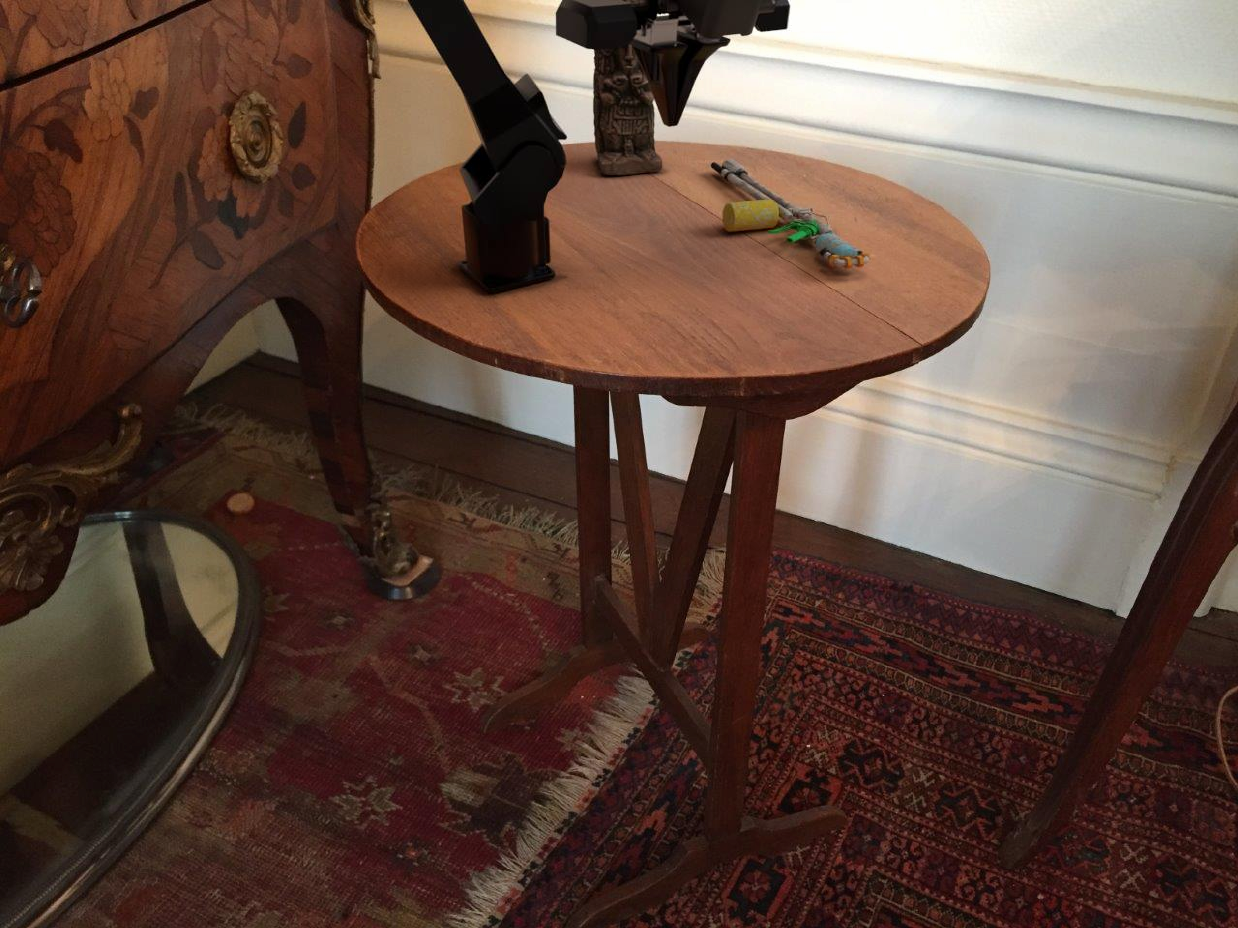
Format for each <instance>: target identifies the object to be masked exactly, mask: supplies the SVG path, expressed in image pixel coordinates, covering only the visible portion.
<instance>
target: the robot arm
mask: <svg viewBox="0 0 1238 928" xmlns="http://www.w3.org/2000/svg"><path fill="white" fill-rule="evenodd" d="M406 1H407V2H408V4H409V5H410V7H411V9H412V11H413V13H414V14H415V16H416V17H417V19H418V21H419V23H420V24H421V26H422V27H423V29H424V31H425V32H426V34H427V35H428V37H429V39H430V40H431V42H432V45H433V46H434V48H435V49H436V51H437V52H438V54H439V56H440V58H441V59H442V60H443V62H444V64H445V65H446V67H447V69H448V71H449V72H450V74H451V76H452V77H453V79H454V80H455V83H456V84H457V86H458V87H459V89H460V91H461V93H462V95H463V98H464V101H465V103H466V106H467V109H468V112H469V115H470V117H471V120H472V122H473V125H474V128H475V130H476V133H477V135H478V138H479V141H480V144H479V145H478V146H477V147H476V149H475V150H474V151H473V152H472V153H471V155H470V156H469V157H468V158H467V159H466V160H465V162H464V163H462V165H461V166H460V168H459V173H460V175H461V178H462V180H463V183H464V185H465V187H466V190H467V192H468V195H469V197H470V200H471V201H470V202H469V203H466V204H462V205H461V216H462V229H463V237H464V250H465V259H464V260H461V261H459V264H458V265H459V269H460V270H462V272H463V273H465V275H467V276H468V277H469V278H470V279H471V280H473V281H474V282H475V283H476V284H477V285H479V286H480V287H481V288H482V289H483V290H484V291H485V292H486V293H489V294H495V293H499V292H503V291H507V290H511V289H515V288H520V287H523V286H527V285H532V284H535V283H539V282H544V281H547V280H551V279H554V278H555V277H556V270H555V269H554V268H552V267H551V266H549V265H548V264H550V263H551V261H552V256H551V255H552V254H551V251H552V250H551V231H550V229H551V227H550V219H549V218H548V217H547V216H545V204H546V200H547V198H548V195H549V194H548V193H549V192H551V191H552V190H553V189H554V188H555V187H556V186H557V185H558V184H559V182H560V181H561V179H562V178H563V175H564V171H565V167H566V165H567V156H566V153H565V150H564V147H563V144H562V143H561V141H566V140H567V139H568V136H567V134H566V133H565V131H564V130H563V129H562V127H561V126H560V125H559V123H558V121H556V119H555V118H554V117H553V115H552V114H551V112H550V109H549V107H548V103H547V101H546V98H545V95H544V93H543V92H542V90H541V89H540V88H539V86H538V85H537V84H536V82H535V81H534V80H533V78H532V77H531V76H530V75H529V73H525V74H523V76H521V77H520V78H519V79H518V80H517V81H516V82H514V81H513V79H512V78H511V77H510V75H508V74H507V72H505V70H504V69H503V68H502V66H501V64H500V62H499V61H498V58H497V57H496V55H495V53H494V52H493V49H492V47H491V46H490V44H489V42H488V40H487V39H486V37H485V36H484V33H483V32H482V30H481V28H480V26H479V25H478V23H477V21H476V19H475V18H474V16H473V14H472V12H471V11H470V8H469V7H468V5H467V3H466V1H465V0H406ZM790 13H791V4H790V1H789V0H640V3H638V4H631V3H628V2H625V1H622V0H561V1H560V3H559V5H558V7H557V9H556V11H555V36H557V37H560V38H562V39H564V40H566V41H568V42H570V43H573V44H574V45H578V46H579V47H582V48H584V49H587V50H593V51H594V50H600V49H609V48H619V47H627V46H628V45H631V46H632V48H633V50H634V52H635V54H636V56H637V58H638V60H639V63H640V65H641V67H642V69H643V71H644V73H645V76H646V78H647V81H648V83H649V86H650V89H651V92H652V94H653V97H654V100H653V101H654V102H655V103H654V104H655V105H656V108H657V111H658V114H659V116H660V118H661V121H662V124H663V125H664V126H666V127H669V128H671V127H677V126H678V125H679V122H680V120H681V118H682V116H683V113H684V111H685V108H686V106H687V103H688V102H689V98H690V96H691V93H692V91H693V88H694V86H695V83H696V81H697V79H698V76H699V75H700V73H701V71H702V69H703V67H704V65H705V63H706V61H707V60H708V59H709V58H710V57H712V55H713V54H715V53H716V52H717V51H718V50H720V48H723V47H724V48H725V47H728V45H729V44H730V43H731V41H732V40H731V38H730V37H726V36H733V35H735V36H736V35H740V36H741V37H747V36H750V35H752V34H753V31H754V28H755V30H756V31H757V32H760V33H765V32H766V33H767V32H774V31H784V30H785V31H786V30H788V28H789V22H790V15H791V14H790Z"/></svg>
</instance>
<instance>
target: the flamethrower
mask: <svg viewBox="0 0 1238 928" xmlns="http://www.w3.org/2000/svg"><path fill="white" fill-rule="evenodd" d="M710 168H711V169H713V170H714V171H715V172H717V173H718V174H719V175H721V176H722V177H723V179H724V180H725V181H727V182H730V183H732V184H733V185H735V186H736V187H737V188H738V189H740V190H741V191H743V192H744V193H746V194H747V195H749V196H750V197H751V198H753V199H755V200H746V201H733V202H732V201H731V202H726V203H725V204H724V206H723V209H722V212H721V215H722V225H723V227H724V229H725V231H727V232H728V233H729V232H739V231H751V230H753V231H754V230H762V229H769V230H768V232H767V233H768V234H771V235H772V234H780V233H782V232H785V231H787V230H792V231H796V232H795V233H793V234H791V235H789V236H787V237H786V238H785V242H787V243H789V244H793V243H795V242H797V241H799V240H801V239H803V238H804V239H808V241H809V242H810V244H811V245H812V246H814V247H816V249H817V251H818V252H819V255H820V256H821V257H822V258H824V259H826V261H828V263H829V265H830V267H841V268H844V269H845V270H850V269H851V268H852V267H853V266H855V267H856V268H858V269H859V268H863V267H864V265H865V264H867V263H869V261H870V255H869V252H863V251H862V250H859V249H858V248H857V247H856V246H854V245H852V244H851V243H850V242H848V241H846V240H844V239H842V238H841V237H839V236H838V235H837V234H835V232H834V229H832V228H831V226H830V222H829V218H828V216H827V215H826V214H820V213H817V212H815V211H814V207H813V205H809V206H808V207H803V206H797V205H796V204H794V203H791V202H788V201H787V200H785V199H784V198H782V197H781V196H779V195H778V194H777V193H775V192H773V191H772V190H771V189H769V188H768V187H766V186H764V185H763V184H761V183H760V182H758V181H757V180H756V179H754V178H752V177H751V176H749V173H748V172H747V171H746V169H745V167H744V165H742V164H741V163H739V162H737V161H736V160H734V159H733V158H727V159H725V160H724V161H723V162H722V164H721V165H720V164H718V163H717V162H715V161H713V162H711V163H710ZM816 216H817V217H819V218H824V219H825V221H826V223H824V222H822V221H821V220H820V219H818V218H816ZM779 218H780V219H782V220H783V221H785V222H787V223H788V222H790V223H788V224H785V225H783V226H781V227H779V228H776V229H772V228H775V227H776V225H777V224H778V222H779ZM815 238H816V239H815ZM812 239H815V241H813V240H812Z"/></svg>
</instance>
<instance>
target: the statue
mask: <svg viewBox="0 0 1238 928" xmlns="http://www.w3.org/2000/svg"><path fill="white" fill-rule="evenodd" d="M622 1H625V2H628V3H631V4H638V3H640V0H622ZM593 53H594V56H593V64H594V69H593V76H592V77H593V78H592V79H593V80H592V87H593V91H592V94H593V98H592V113H593V121H592V122H593V136H594V149H595V152H596V155H597V159H598V166H599V169H600V172H601V174H603V175H606V176H608V175H609V176H610V175H611V176H625V175H634V174H644V173H656V172H661V171H662V168H663V160H662V159H663V158H662V157H661V156H660V154H658V153H657V152H656V146H655V142H656V140H655V119H656V114H655V113H656V112H655V105H654V101H655V100H654V97H653V94H652V92H651V89H650V86H649V83H648V81H647V78H646V76H645V73H644V71H643V69H642V67H641V65H640V63H639V60H638V58H637V56H636V54H635V52H634V50H633V48H632V46H631V45H628V46H627V47H619V48H609V49H600V50H594V49H593Z"/></svg>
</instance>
